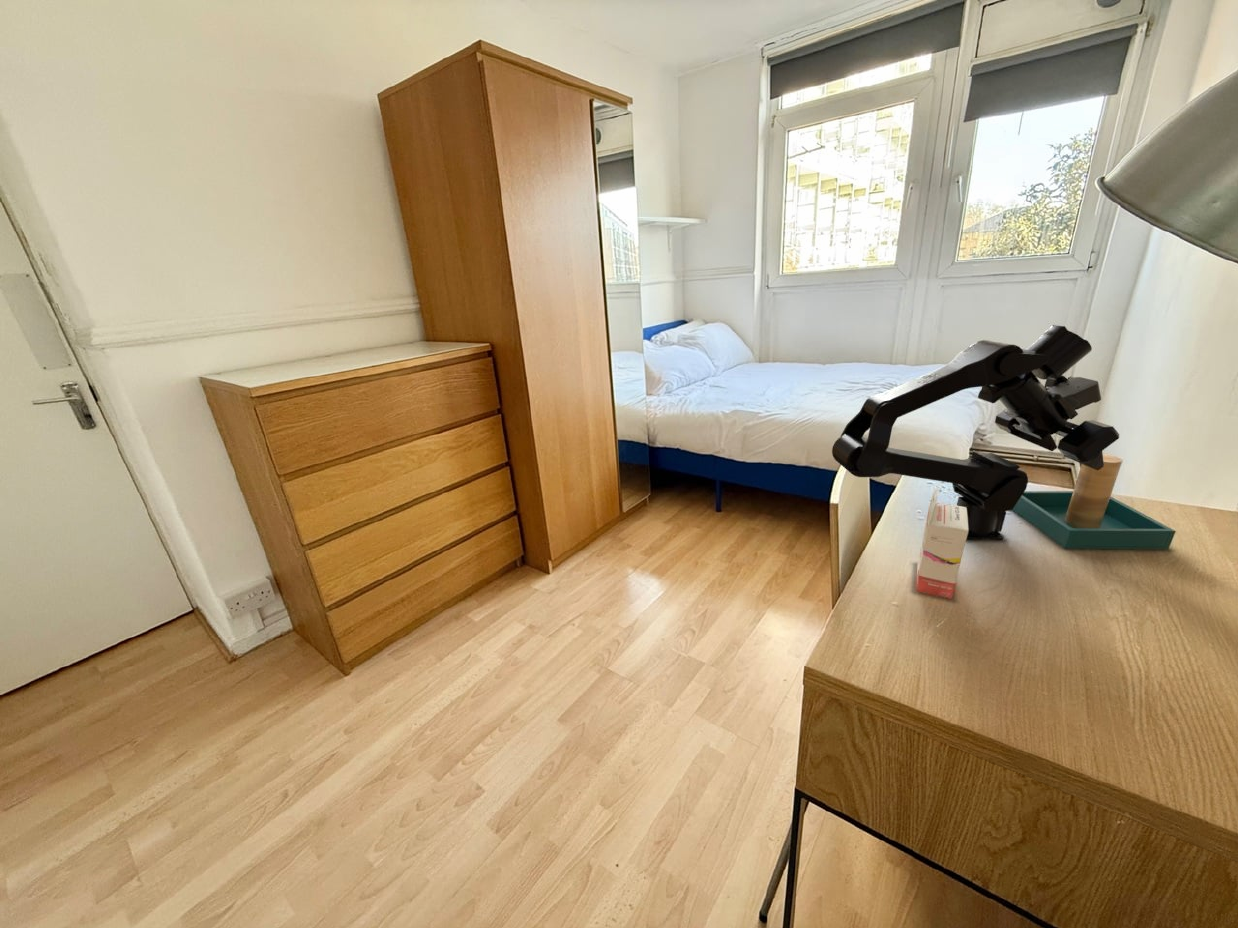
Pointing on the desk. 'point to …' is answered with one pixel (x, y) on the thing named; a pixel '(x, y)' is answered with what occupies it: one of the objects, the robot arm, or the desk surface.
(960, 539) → the ink cartridge box
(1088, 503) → the wood cylinder
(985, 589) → the desk surface
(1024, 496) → the teal serving tray
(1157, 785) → the desk surface
